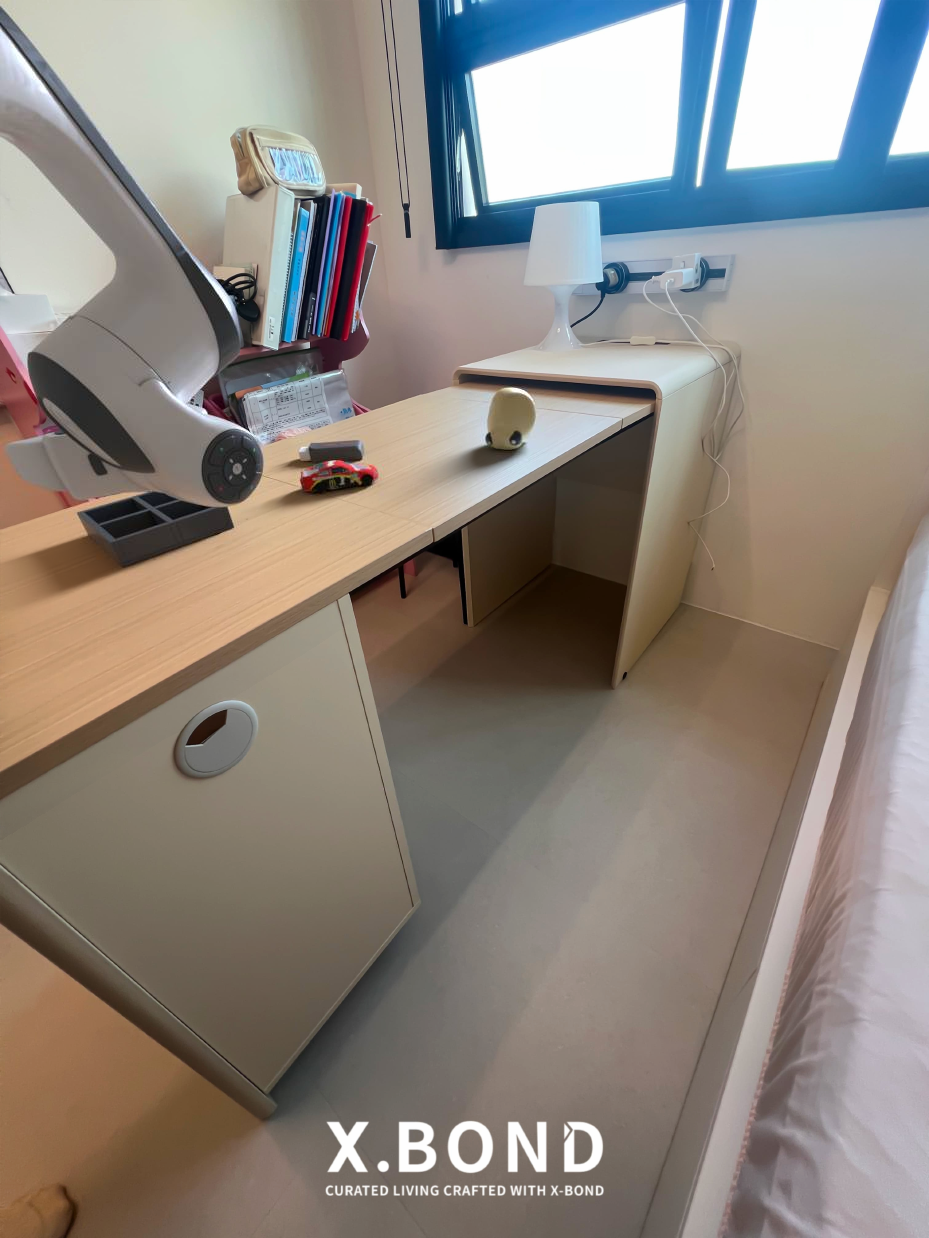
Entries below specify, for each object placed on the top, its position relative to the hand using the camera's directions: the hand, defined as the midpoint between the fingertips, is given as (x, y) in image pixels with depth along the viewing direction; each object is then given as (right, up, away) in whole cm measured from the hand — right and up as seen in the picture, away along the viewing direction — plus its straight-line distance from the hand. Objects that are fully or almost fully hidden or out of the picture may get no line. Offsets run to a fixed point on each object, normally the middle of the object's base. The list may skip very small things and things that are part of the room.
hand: (89, 432), depth 61 cm
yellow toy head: (+55, +13, +41) cm, 70 cm away
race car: (+24, 0, +26) cm, 36 cm away
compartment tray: (+1, -10, +14) cm, 17 cm away
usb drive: (+19, +9, +39) cm, 45 cm away
